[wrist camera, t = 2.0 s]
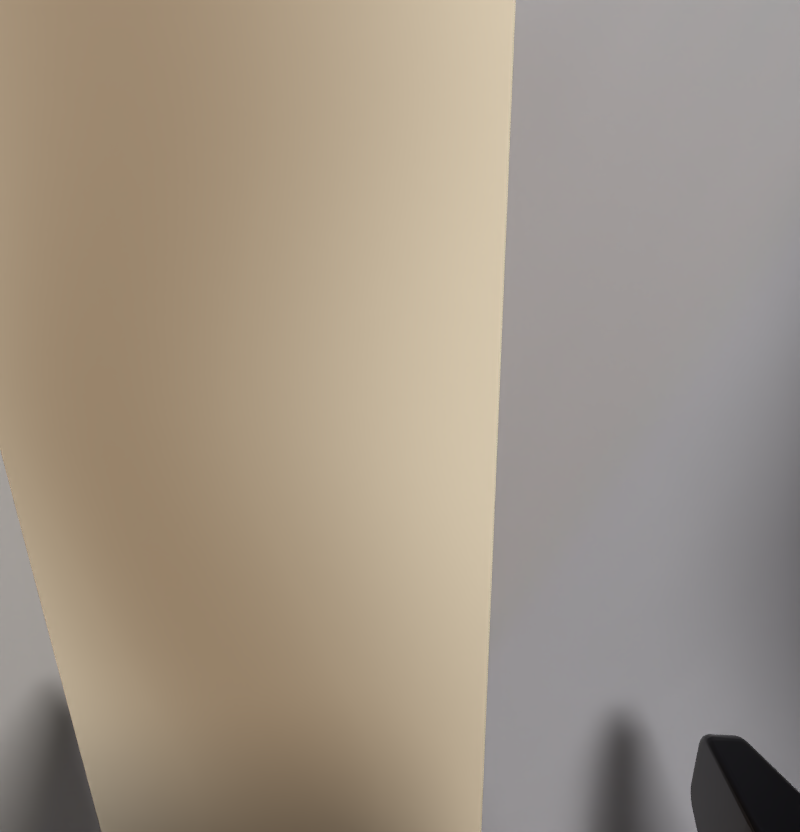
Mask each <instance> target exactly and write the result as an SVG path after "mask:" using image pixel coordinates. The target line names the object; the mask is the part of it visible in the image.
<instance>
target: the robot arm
mask: <svg viewBox="0 0 800 832" xmlns="http://www.w3.org/2000/svg"><path fill="white" fill-rule="evenodd" d="M691 802H692V808H693V813H694V817H695V822H696V827H697V831H698V832H800V793H799V792H798V791H797V790H796V789H795V788H794V787H793V786H792V785H791V784H790V783H789V782H788V781H787V780H786V779H785V778H784V777H783V776H782V775H781V774H780V773H779V772H778V771H777V770H776V769H775V768H774V767H773V766H771V765H770V764H769V763H768V762H767V761H766V760H765V759H764V758H763V757H762V756H761V755H760V754H759V753H758V752H757V751H756V750H755V749H754V748H753V747H752V746H751V745H750V744H749V743H748V742H747V741H745V740H744V739H742V738H741V737H738V736H733V735H712V734H708V735H705V736H703V737H702V739H701V740H700V743H699V747H698V752H697V757H696V762H695V768H694V773H693V778H692V783H691Z"/></svg>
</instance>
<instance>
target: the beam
mask: <svg viewBox="0 0 800 832" xmlns="http://www.w3.org/2000/svg"><path fill="white" fill-rule="evenodd" d="M515 2H516V0H0V450H1V454H2V458H3V461H4V465H5V469H6V473H7V477H8V480H9V484H10V488H11V492H12V496H13V499H14V503H15V507H16V511H17V514H18V518H19V522H20V526H21V530H22V533H23V537H24V541H25V545H26V549H27V552H28V556H29V560H30V564H31V568H32V571H33V575H34V579H35V583H36V586H37V590H38V594H39V598H40V602H41V605H42V609H43V613H44V617H45V621H46V624H47V628H48V632H49V636H50V640H51V643H52V647H53V651H54V655H55V658H56V662H57V666H58V670H59V674H60V677H61V681H62V685H63V689H64V693H65V696H66V700H67V704H68V708H69V712H70V715H71V719H72V723H73V727H74V730H75V734H76V738H77V742H78V746H79V749H80V753H81V757H82V761H83V765H84V768H85V772H86V776H87V780H88V783H89V787H90V791H91V795H92V799H93V802H94V806H95V810H96V814H97V818H98V821H99V825H100V829H101V832H481V823H482V799H483V774H484V750H485V726H486V702H487V678H488V654H489V630H490V605H491V581H492V557H493V533H494V509H495V485H496V461H497V436H498V412H499V388H500V364H501V340H502V316H503V292H504V268H505V243H506V219H507V195H508V171H509V147H510V123H511V99H512V74H513V50H514V26H515Z"/></svg>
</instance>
